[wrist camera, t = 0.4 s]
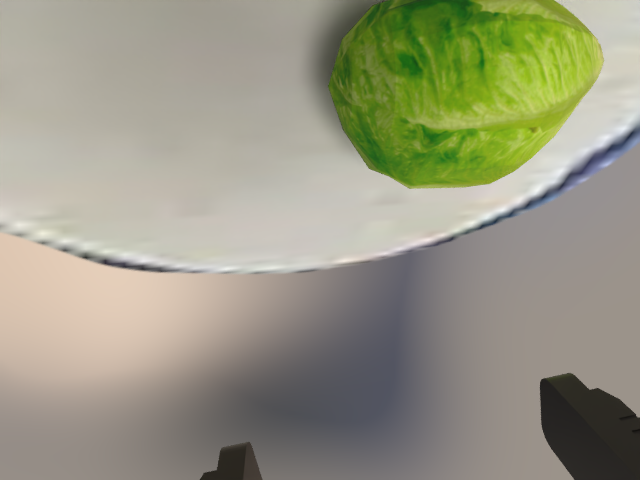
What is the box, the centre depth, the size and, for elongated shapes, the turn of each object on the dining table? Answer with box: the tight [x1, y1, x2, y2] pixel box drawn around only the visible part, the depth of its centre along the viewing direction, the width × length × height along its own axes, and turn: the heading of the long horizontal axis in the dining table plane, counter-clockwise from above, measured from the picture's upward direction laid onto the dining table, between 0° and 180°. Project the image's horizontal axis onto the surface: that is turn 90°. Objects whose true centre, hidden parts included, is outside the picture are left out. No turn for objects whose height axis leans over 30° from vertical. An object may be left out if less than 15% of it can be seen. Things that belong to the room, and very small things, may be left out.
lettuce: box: [328, 0, 604, 189], centre depth 32 cm, size 15×20×14 cm
